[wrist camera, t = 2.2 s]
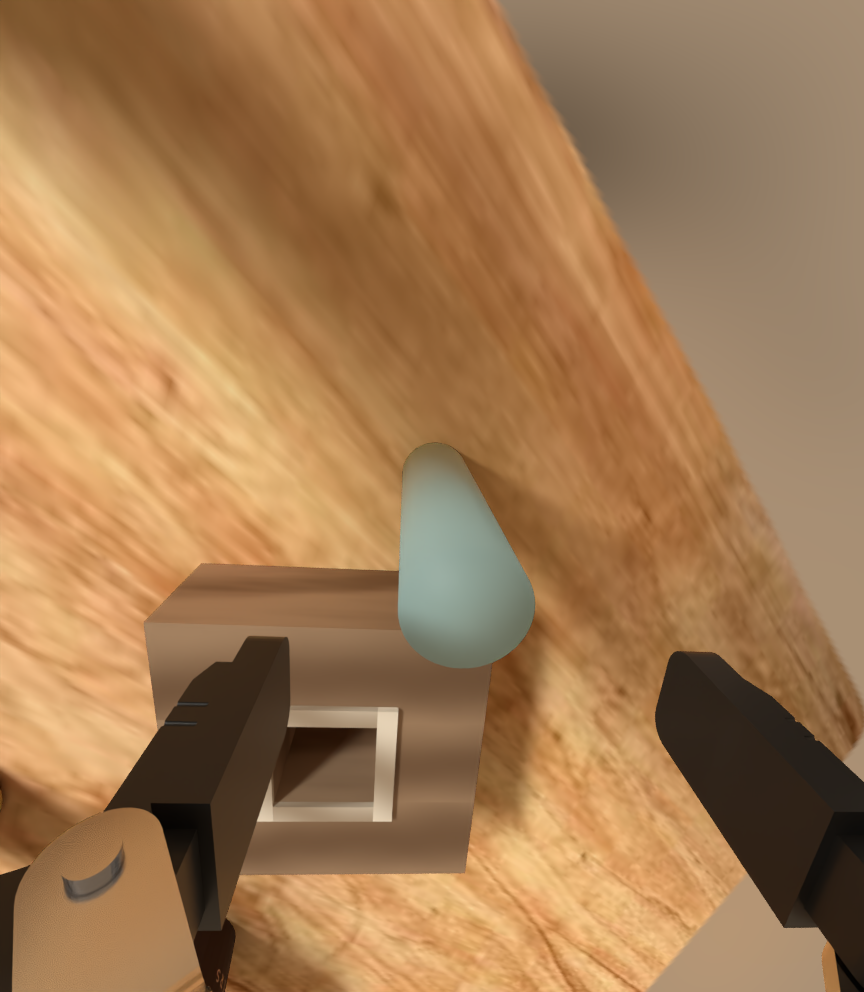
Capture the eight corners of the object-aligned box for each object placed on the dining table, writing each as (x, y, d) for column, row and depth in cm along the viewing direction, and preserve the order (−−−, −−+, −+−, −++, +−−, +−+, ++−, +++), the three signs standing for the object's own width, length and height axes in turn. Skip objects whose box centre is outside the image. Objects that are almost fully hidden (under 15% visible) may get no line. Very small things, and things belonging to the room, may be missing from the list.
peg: (404, 440, 24) (401, 543, 11) (470, 444, 25) (544, 549, 11) (400, 503, 26) (394, 666, 12) (463, 507, 26) (525, 670, 12)
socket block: (201, 563, 26) (139, 626, 20) (477, 574, 27) (497, 637, 21) (219, 778, 31) (174, 881, 25) (454, 779, 32) (465, 878, 26)
